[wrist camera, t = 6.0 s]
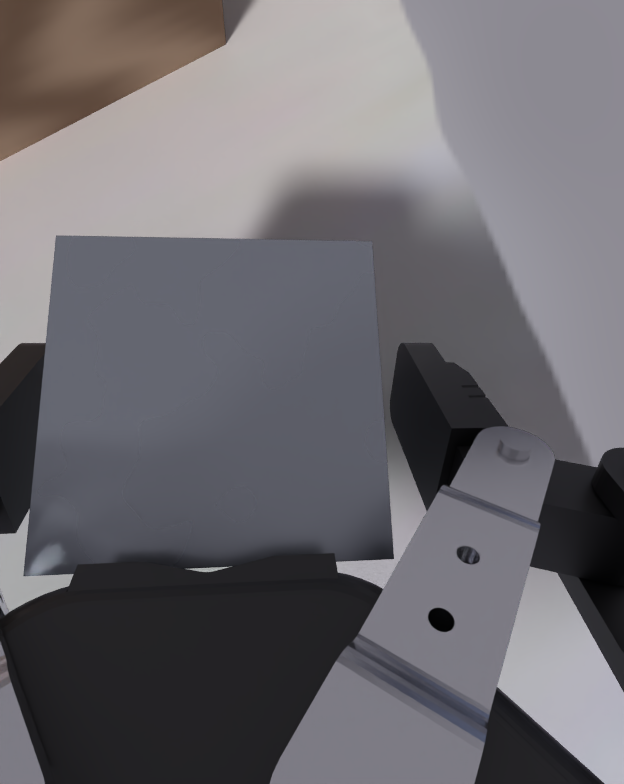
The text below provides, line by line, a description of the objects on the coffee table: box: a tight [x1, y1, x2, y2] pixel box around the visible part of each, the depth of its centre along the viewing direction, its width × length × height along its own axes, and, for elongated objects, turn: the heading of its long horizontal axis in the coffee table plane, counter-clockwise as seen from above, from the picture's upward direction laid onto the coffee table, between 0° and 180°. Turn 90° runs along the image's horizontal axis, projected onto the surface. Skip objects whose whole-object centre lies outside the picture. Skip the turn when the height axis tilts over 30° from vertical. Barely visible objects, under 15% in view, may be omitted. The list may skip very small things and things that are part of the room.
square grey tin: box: [24, 236, 394, 576], centre depth 12 cm, size 5×5×9 cm
